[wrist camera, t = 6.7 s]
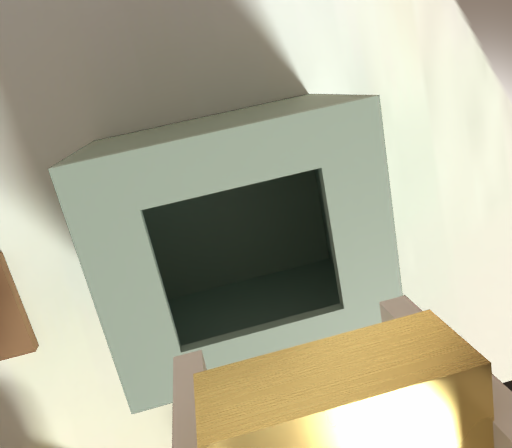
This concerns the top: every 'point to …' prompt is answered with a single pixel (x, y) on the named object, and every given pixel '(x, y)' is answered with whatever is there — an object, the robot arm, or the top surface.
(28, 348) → the token stand
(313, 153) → the box
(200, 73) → the top surface
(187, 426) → the robot arm
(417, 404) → the panel
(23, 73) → the top surface
